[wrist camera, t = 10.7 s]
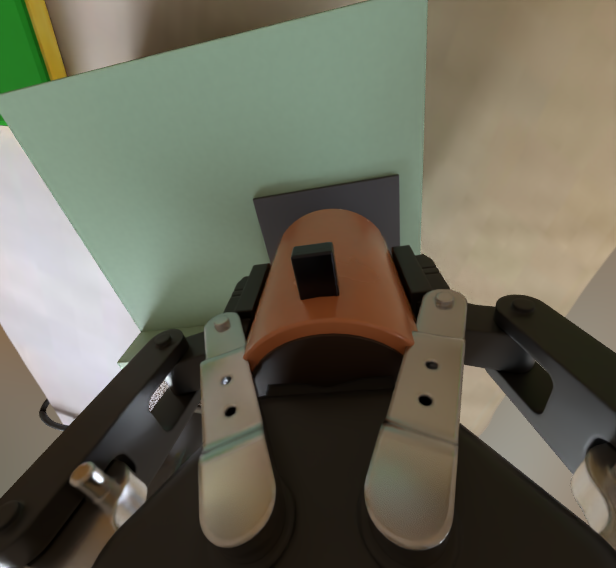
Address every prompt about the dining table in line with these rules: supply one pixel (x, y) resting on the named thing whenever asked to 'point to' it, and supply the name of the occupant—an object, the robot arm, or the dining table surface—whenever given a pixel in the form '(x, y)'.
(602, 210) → the dining table surface
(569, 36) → the dining table surface
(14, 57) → the dish sponge
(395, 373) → the copper pot
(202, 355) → the robot arm
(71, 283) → the dining table surface
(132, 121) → the shelf
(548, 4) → the dining table surface
